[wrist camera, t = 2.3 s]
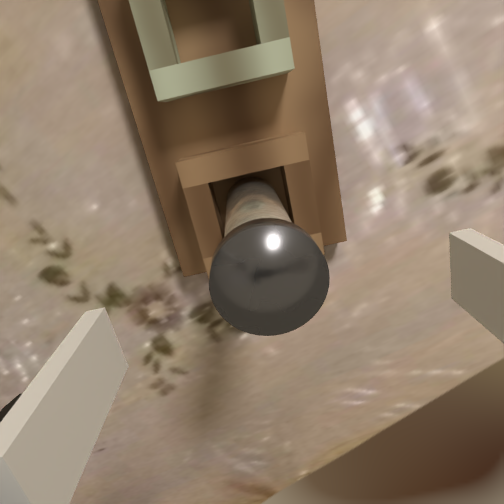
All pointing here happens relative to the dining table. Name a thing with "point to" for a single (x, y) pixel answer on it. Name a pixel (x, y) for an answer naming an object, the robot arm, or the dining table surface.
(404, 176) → the dining table surface
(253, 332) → the lock pin
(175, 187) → the socket board
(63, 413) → the robot arm
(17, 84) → the dining table surface
